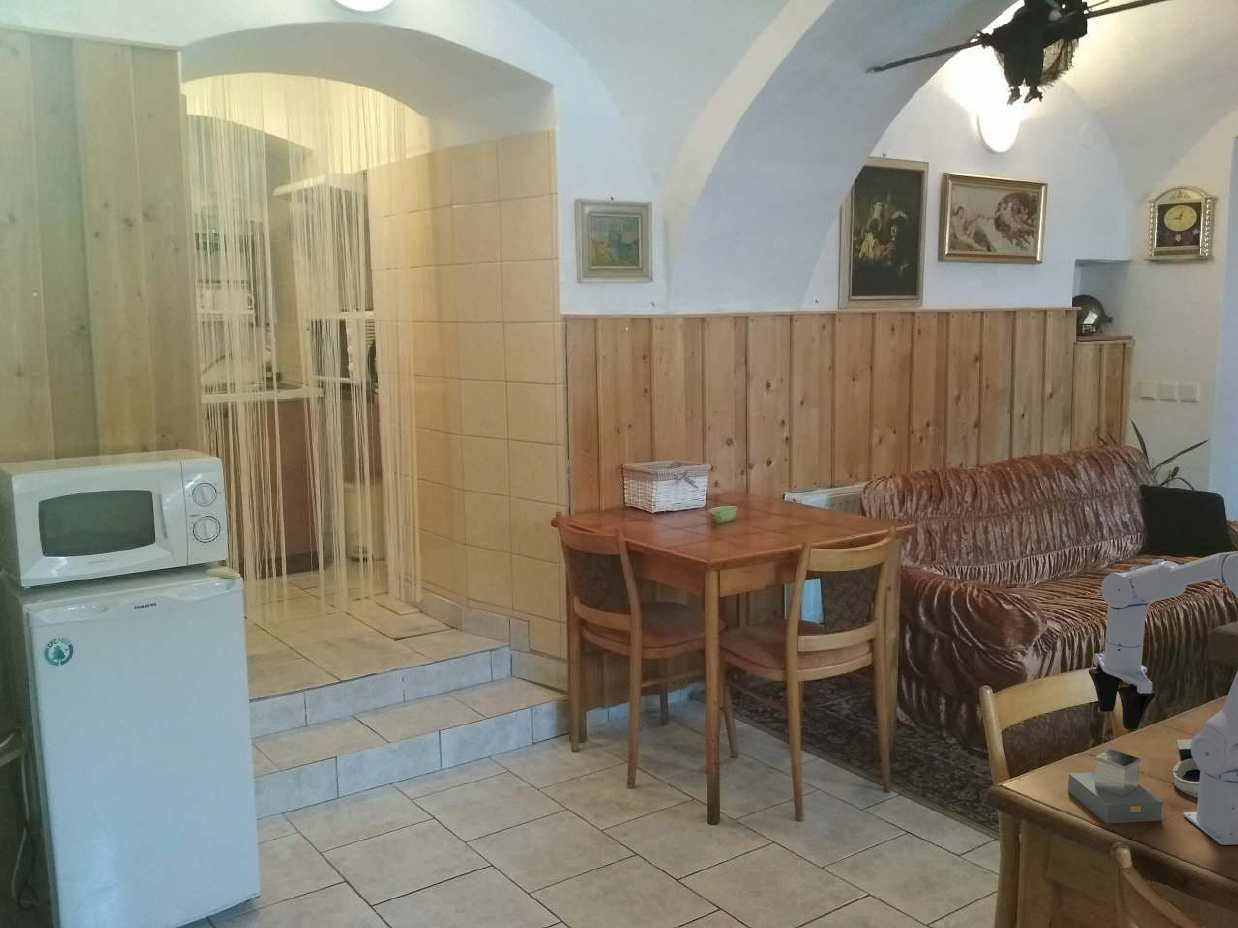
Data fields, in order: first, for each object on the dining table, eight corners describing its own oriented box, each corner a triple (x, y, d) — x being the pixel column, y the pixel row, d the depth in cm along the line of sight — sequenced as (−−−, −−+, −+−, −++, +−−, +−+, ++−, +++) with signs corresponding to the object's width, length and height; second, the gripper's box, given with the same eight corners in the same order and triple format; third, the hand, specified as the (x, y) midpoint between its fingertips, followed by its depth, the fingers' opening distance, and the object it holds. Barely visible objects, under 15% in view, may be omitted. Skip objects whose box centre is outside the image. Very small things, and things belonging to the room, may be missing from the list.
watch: (1222, 766, 176) (1234, 803, 167) (1170, 768, 180) (1178, 804, 170) (1218, 737, 175) (1229, 772, 166) (1165, 739, 179) (1172, 774, 169)
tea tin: (1138, 788, 164) (1140, 758, 164) (1123, 796, 162) (1125, 766, 161) (1108, 778, 168) (1110, 748, 168) (1093, 786, 165) (1095, 756, 165)
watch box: (1161, 823, 160) (1163, 802, 160) (1107, 826, 159) (1108, 805, 159) (1118, 790, 171) (1120, 770, 171) (1067, 793, 170) (1068, 773, 170)
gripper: (1172, 655, 168) (1166, 735, 169) (1123, 628, 182) (1117, 702, 184) (1130, 656, 167) (1124, 736, 169) (1084, 629, 181) (1079, 703, 183)
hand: (1118, 719), depth 176 cm, fingers open, 7 cm apart
